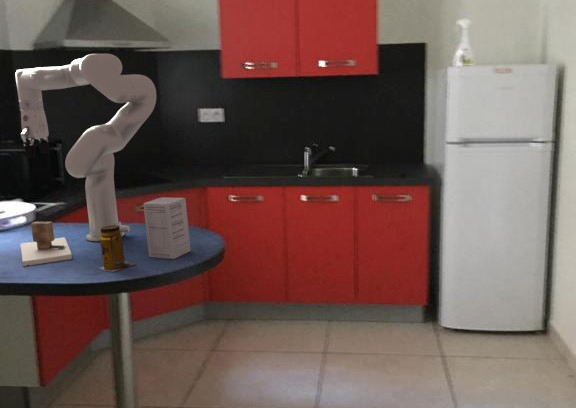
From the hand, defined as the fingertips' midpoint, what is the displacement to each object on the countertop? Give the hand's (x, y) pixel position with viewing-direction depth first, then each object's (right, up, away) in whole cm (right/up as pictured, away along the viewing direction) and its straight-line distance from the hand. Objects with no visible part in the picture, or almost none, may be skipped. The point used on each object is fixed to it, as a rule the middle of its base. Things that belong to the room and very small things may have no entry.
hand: (37, 155), depth 231 cm
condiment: (+38, -35, -39) cm, 65 cm away
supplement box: (+51, -33, -29) cm, 67 cm away
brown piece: (+12, -31, -21) cm, 39 cm away
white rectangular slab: (+10, -33, -20) cm, 40 cm away
